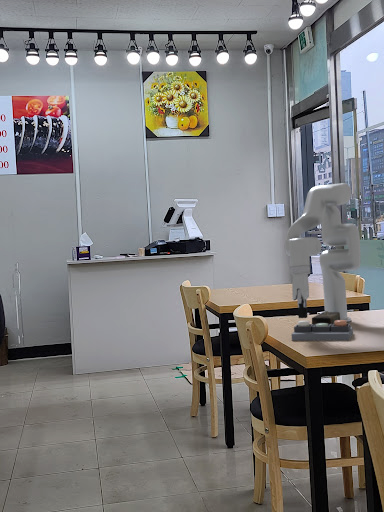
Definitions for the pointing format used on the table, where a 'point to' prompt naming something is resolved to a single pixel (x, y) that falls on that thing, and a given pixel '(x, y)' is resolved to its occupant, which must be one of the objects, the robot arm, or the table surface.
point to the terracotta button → (340, 323)
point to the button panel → (322, 332)
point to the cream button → (303, 324)
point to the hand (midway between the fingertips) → (303, 317)
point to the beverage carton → (326, 318)
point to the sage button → (321, 324)
